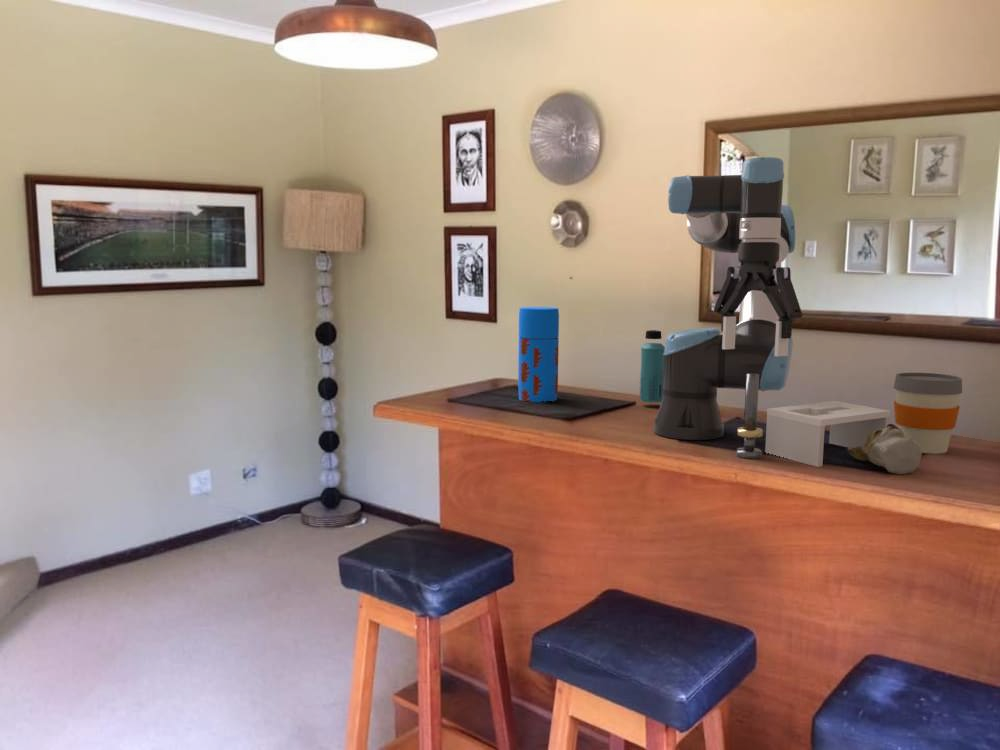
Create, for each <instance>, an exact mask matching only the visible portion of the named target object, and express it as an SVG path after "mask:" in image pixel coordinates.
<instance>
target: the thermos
mask: <svg viewBox="0 0 1000 750" xmlns="http://www.w3.org/2000/svg"><path fill="white" fill-rule="evenodd" d="M518 311H519V312H518V363H517V364H518V372H517V373H518V376H517V379H518V381H517V384H518V389H517V390H518V399H519V401H522V402H526V401H528V402H527V403H547V402H546V401H552V402H556V401H557V400H558V389H559V345H560V344H559V340H560V338H559V337H560V336H559V334H560V333H559V331H560V327H559V326H560V312H559V308H558V307H550V306H549V307H547V306H529V307H528V306H526V307H525V306H523V307H519V310H518ZM555 400H556V401H555ZM542 401H544V402H542Z"/></svg>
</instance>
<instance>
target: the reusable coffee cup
mask: <svg viewBox="0 0 1000 750" xmlns="http://www.w3.org/2000/svg"><path fill="white" fill-rule="evenodd" d="M893 389H895V391H894V392H895V400H894V401H893V407H894V423H895V424H896V425H897V427H898V428H900V429H901V430H902V431H903V433H904V436H905V437H906V438H912V439H913V440H914V441H916V443H917V444H918V446H919V448H920V451H921V453H922V454H945V453H947V452H948V450H949V449H948V448H949V445H950V441H951V437H952V432H953V429H956V424H957V420H958V415H959V411H960V409H961V408H960V405H959V401H960V397H961V394H963V379H962V378H961V377H960V376H957V375H956V376H955V375H951V374H945V373H944V374H943V373H942V374H941V373H932V372H900V373H896V374H895V378H894V385H893Z"/></svg>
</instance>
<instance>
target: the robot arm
mask: <svg viewBox="0 0 1000 750" xmlns="http://www.w3.org/2000/svg"><path fill="white" fill-rule="evenodd" d="M741 168H742V169H741V174H732V175H729V174H726V175H684V176H683V175H682V176H674V177H672V178H671V179H670V180H669V184H668V191H667V192H668V198H667V199H668V200H667V201H668V210H669V212H670V213H672V214H680V215H685V217H686V229H687V233H688V234H689V235H690V238H691V239H692V240H693V241H694V242H695V243H697V244H698V245H699V246H701V247H703V248H706V249H709V250H711V251H714V252H718V253H723V254H725V253H728V254H737V261H738V262H740V266H727V270H726V278H725V280H724V283H723V285H722V288H721V290H720V293H719V295H718V296H717V300H716V302H715V304H714V308H713V312H714V313H717V314H720V316H721V322H720V323H721V324H720V325H721V327H720V328H718V327H705V328H703V327H701V328H692V329H683V330H678V331H673V332H671V333H669V334H668V335H667V336H666V338H665V341H664V347H665V351H664V384H663V399H662V402H660V406H659V409H658V413H657V416H656V418H655V420H654V421H653V423H654V424H653V433H655V434H656V435H658V436H660V437H661V436H662V437H665V438H669V439H670V438H671V439H677V440H688V441H689V440H691V441H703V440H705V441H706V440H714V439H719V438H721V437H722V438H723V436H724V430H725V429H724V428H725V427H724V422H723V421H722V416H721V412H720V408H719V404H718V389H730V390H731V389H732V390H746V373H757V374H759V390H758V391H761V392H766V391H780V390H782V389H784V388H785V386H786V384H787V381H788V377H789V372H790V368H791V367H790V366H791V359H792V354H793V345H794V344H793V342H794V341H793V340H794V339H793V338H792V334H793V333H792V332H793V322H794V320H797V319H801V318H802V317H803V312H802V308H801V307H800V303H799V299H798V297H797V294H796V291H795V288H794V284H793V282H792V278H791V274H792V273H791V268H790V267H789V266H786V267H785V266H782V263H783V262H784V261H785V260H786V258H787V257H788V255H789V254H791V253H793V252H794V250H795V247H796V228H795V227H796V225H795V224H796V222H795V216H794V215H795V214H794V211H793V208H791V206H789V205H787V204H783V202H782V201H783V190H784V189H783V188H784V187H783V186H784V179H785V173H784V160H783V159H782V158H779V157H772V156H771V157H770V156H762V157H751V158H747V159H745V160H744V161H743V163H742V167H741ZM738 309H739V319H738V323H737V316H735V315H736V314H735V312H736V311H737V310H738ZM720 329H721V330H720ZM721 332H722V334H721Z"/></svg>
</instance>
